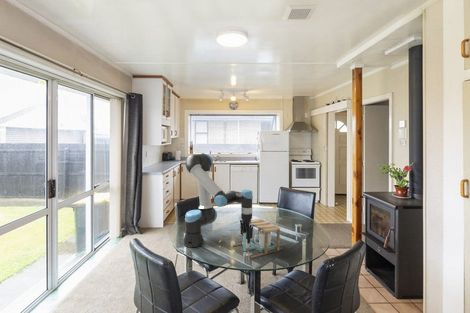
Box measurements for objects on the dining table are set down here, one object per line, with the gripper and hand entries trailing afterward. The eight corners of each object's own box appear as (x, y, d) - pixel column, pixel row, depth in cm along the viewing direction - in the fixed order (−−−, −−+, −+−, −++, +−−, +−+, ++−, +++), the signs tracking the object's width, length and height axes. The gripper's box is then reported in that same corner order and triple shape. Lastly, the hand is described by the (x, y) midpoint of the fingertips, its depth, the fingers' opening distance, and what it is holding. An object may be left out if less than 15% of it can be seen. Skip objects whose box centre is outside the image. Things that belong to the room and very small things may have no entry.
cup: (272, 248, 184) (272, 234, 183) (255, 249, 182) (255, 235, 181) (269, 243, 192) (269, 230, 191) (252, 244, 190) (253, 230, 189)
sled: (236, 246, 186) (237, 229, 185) (262, 239, 198) (262, 224, 198) (252, 256, 171) (252, 238, 170) (278, 248, 183) (279, 231, 182)
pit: (266, 240, 198) (266, 240, 198) (273, 238, 202) (273, 238, 202) (278, 247, 186) (279, 246, 186) (286, 245, 190) (286, 244, 190)
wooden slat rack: (232, 245, 187) (232, 223, 186) (263, 238, 202) (263, 217, 201) (251, 258, 168) (251, 234, 166) (283, 249, 182) (284, 226, 181)
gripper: (235, 210, 182) (235, 243, 184) (249, 217, 169) (248, 252, 170) (244, 209, 186) (244, 241, 188) (258, 215, 173) (257, 249, 174)
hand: (246, 246), depth 179 cm, fingers closed on sled, 3 cm apart
